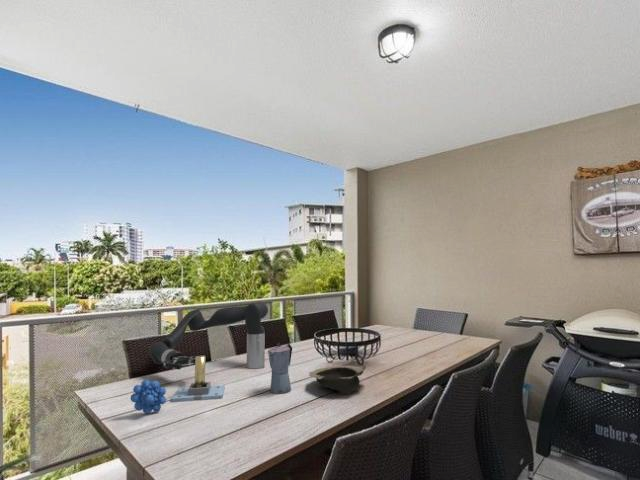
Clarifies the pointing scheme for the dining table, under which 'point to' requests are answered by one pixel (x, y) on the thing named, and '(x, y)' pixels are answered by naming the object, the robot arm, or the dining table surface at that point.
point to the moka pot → (280, 368)
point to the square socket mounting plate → (199, 393)
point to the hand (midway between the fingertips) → (189, 365)
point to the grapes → (148, 396)
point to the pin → (200, 371)
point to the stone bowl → (339, 378)
